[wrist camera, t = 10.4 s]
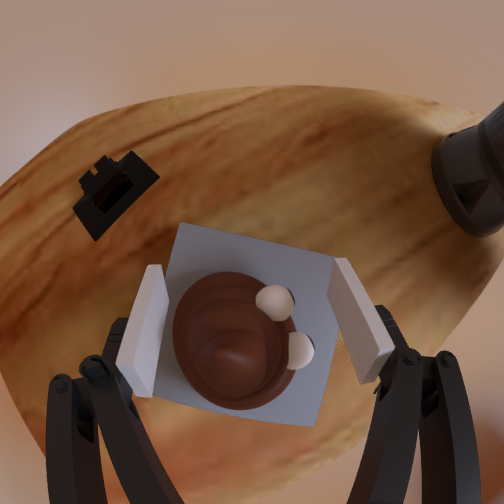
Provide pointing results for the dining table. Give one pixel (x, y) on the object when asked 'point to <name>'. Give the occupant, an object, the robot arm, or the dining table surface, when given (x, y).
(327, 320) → the grey block
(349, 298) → the robot arm
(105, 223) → the black mounting bracket
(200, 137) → the dining table surface
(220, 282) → the poop emoji
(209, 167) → the dining table surface
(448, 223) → the dining table surface
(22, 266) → the dining table surface
